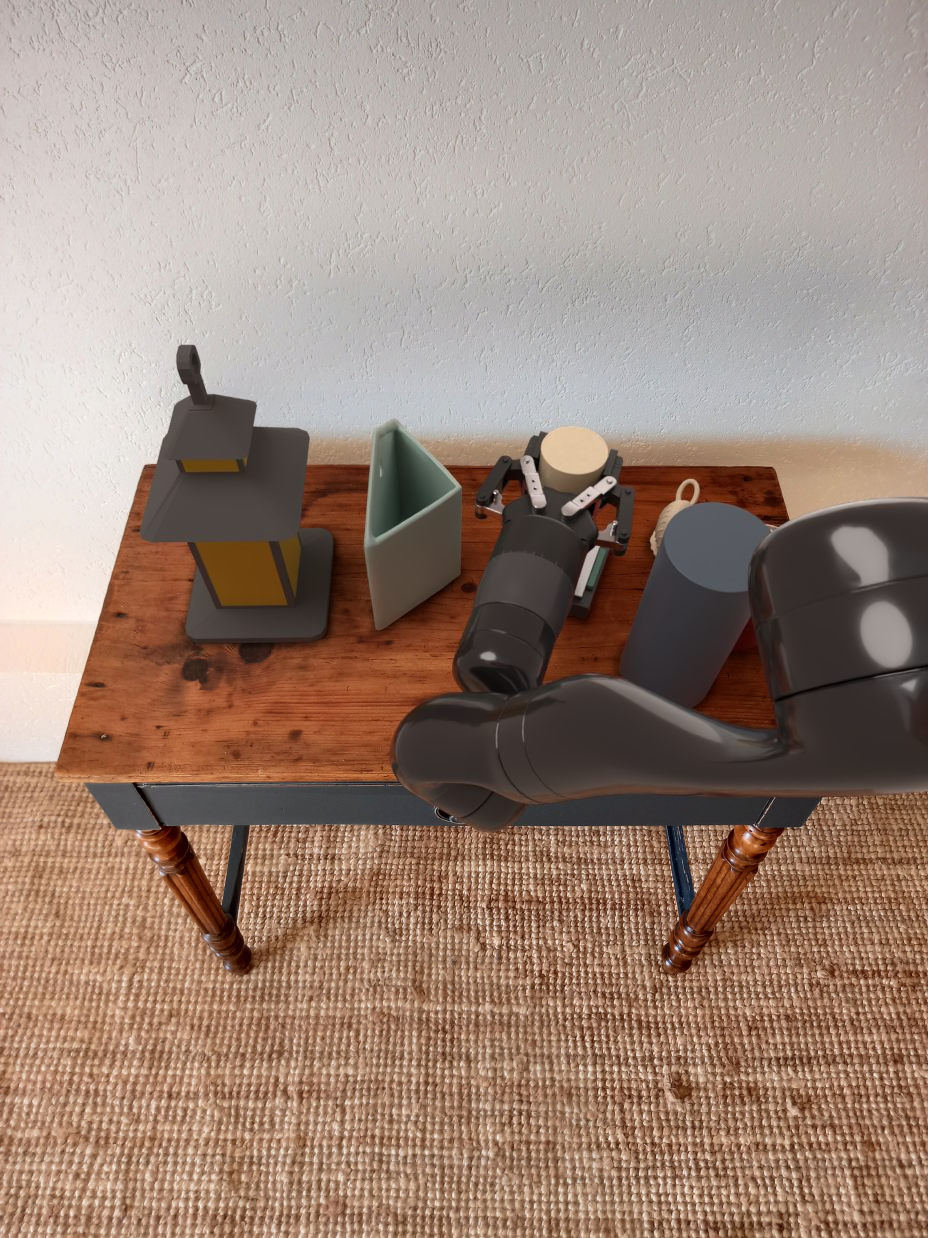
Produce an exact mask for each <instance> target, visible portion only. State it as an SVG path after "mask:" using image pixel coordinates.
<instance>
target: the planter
mask: <svg viewBox="0 0 928 1238" xmlns="http://www.w3.org/2000/svg"><path fill="white" fill-rule="evenodd" d="M371 436H372V437H371V449H370V460H369V461H370V462H369V474H368V486H367V487H368V488H367V498H366V499H367V500H366V510H365V524H364V536H363V538H364V539H363V551H364V559H365V565H366V572H367V579H368V580H367V581H368V586H369V593H370V600H371V606H372V613H373V621H374V626H375V630H376V631H382V630H384V629H386V628H388V627H389V626H390V625H391V624H393V623H394V622H395V621H397V620H399V619H400V618H401V617H403V616H404V615H406V614H407V613H409V612H410V611H412V610H413V609H414V608H416V607H418V606H419V605H420V604H422V603H424V601H426V600H427V599H429V598H431V597H432V596H433V595H435V594H437V592H439V591H441V590H442V589H444V587H446V586H447V585H449V584H450V583H451V582H452V581H454V580H455V579H457V578H458V577H459V576H460V575H461V573H462V572H461V571H462V570H461V569H462V568H461V566H462V563H461V562H462V512H463V487H462V485H461V484H460V483H459V482H458V480H457V479H456V478H455V477H454V476H453V475H452V474H451V473H450V471H449V470H448V469H447V468H446V467H445V466H444V465H443V464H442V463H441V462H440V460H438V459H437V458H436V457H435V456H434V455H433V454H432V453H431V452H430V451H429V450H428V449H427V448H425V446H424V445H422V444H421V442H419V441H418V440H417V439H416V438H415V436H414V435H413V434H412V433H411V432H410V431H409V430H408V429H407V428H406V427H405V426H404V424H402V423H401V422H400V420H399V419H398V418H391V419H389V420H388V421H386V422H385V423H383V424H381V425H379V426H377V427H375V428H374V429H373V430H372V433H371Z"/></svg>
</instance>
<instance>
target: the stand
mask: <svg viewBox="0 0 928 1238" xmlns="http://www.w3.org/2000/svg"><path fill="white" fill-rule="evenodd" d="M766 525H767V524H766V523H765V522H764V521H763V520H761V519H760V518H759V517H757V516H756V515H755V514H753V513H751V512H750V511H748V510H746V509H743V508H741V507H739V506H736V505H732V504H728V503H723V502H715V501H714V502H711V501H709V502H700V503H696V504H695V505H691V506H689V507H686V508H684V509H683V510H681V511H679V512H678V513H677V514H675V515H674V516H673V517H672V519H671V520H670V521H669V523H668V524H667V527H666V529H665V532H664V535H663V537H662V540H661V543H660V546H659V549H658V552H657V555H656V556H655V557H654V560H653V564H652V567H651V569H650V572H649V575H648V578H647V582H646V584H645V587H644V590H643V593H642V595H641V598H640V601H639V604H638V607H637V610H636V613H635V617H634V619H633V621H632V624H631V627H630V630H629V632H628V637H627V639H626V641H625V644H624V647H623V650H622V652H621V656H620V660H619V673H620V677H623V678H626V679H629V680H632V681H635V682H638V683H640V684H642V685H645V686H647V687H649V688H651V689H653V690H656V691H658V692H660V693H662V694H664V695H666V696H667V697H669V698H671V699H673V700H675V701H677V702H679V703H681V704H684V705H686V706H688V707H690V708H692V709H693V708H694V707H696V706H697V705H699V704H700V703H701V702H702V701H703V700H704V699H705V698H706V696H707V695H708V693H709V692H710V689H711V688H712V686H713V684H714V682H715V681H716V679H717V677H718V675H719V674H720V672H721V670H722V668H723V666H724V664H725V663H726V661H727V659H728V657H729V655H731V652H732V651H733V650H732V649H733V647H734V645H735V643H736V642H737V640H738V638H739V636H740V634H741V633H742V631H743V629H744V627H745V626H746V624H747V622H748V620H749V619H750V617H751V612H750V606H749V597H748V566H749V562H750V560H751V557H752V555H753V553H754V551H755V549H756V547H757V546H758V545H759V544H760V543H761V541H762V540H763V539H764V538H765V537H766V536H767V535H768V534H770V533H771V530H770V529H769V528H768V527H767V526H766Z"/></svg>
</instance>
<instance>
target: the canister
mask: <svg viewBox="0 0 928 1238" xmlns="http://www.w3.org/2000/svg"><path fill="white" fill-rule="evenodd" d="M547 433H548V432H547ZM608 456H609V447H608V445H607V443H606V440H604V439H603V438H602V437H601V435H599V434H598V433H597V432H595V431H593V430H591V429H589V428H586V427H583V426H577V425H569V426H567V425H566V426H561V427H558V428H555V429H552V430H551V431H549V433H548V434H547V435H546V436H545V438H544V439H543V441H542V444H541V449H540V457H539V464H538V470H537V472H538V474H539V478H540V482H541V486H542V488H543V487H544V486H546V487H550V488H553V489H555V490H557V491H559V492H567V493H573V494H577V495H580V494H581V493H582V492H583V491H585V490H586V489H587V488H588V487H590V486H592V487H593V486H595V485H596V484H597V483H598V482H600V481H601V479H602V475H603V472H604V468H605V466H606V463H607V459H608Z"/></svg>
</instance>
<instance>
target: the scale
mask: <svg viewBox="0 0 928 1238" xmlns="http://www.w3.org/2000/svg"><path fill="white" fill-rule="evenodd" d="M611 550H612V548H607V547H601V546H595V547H594V548H593V549H592V550H591V551H590V552H589V553H588V554H587V556H586V559H585V562H584V565H583V568H582V571H581V575H580V578H579V581H578V584H577V587H576V590H575V593H574V597H573V600H572V605H571V610H570V612H569V614H568V616H570V617H574V618H576V619H580V620H583V621H586V620H587V619H588V615H589V612H590V610H591V606H592V604H593V601H594V598H595V595H596V592H597V589H598V586H599V584H600V581H601V578H602V575H603V572H604V569H605V567H606V564H607V561H608V557H609V555H610V553H611Z"/></svg>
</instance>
